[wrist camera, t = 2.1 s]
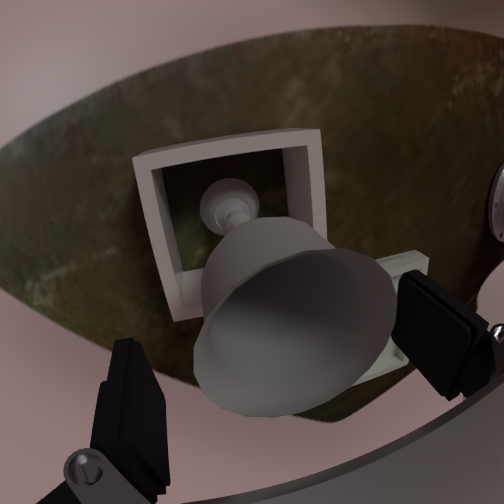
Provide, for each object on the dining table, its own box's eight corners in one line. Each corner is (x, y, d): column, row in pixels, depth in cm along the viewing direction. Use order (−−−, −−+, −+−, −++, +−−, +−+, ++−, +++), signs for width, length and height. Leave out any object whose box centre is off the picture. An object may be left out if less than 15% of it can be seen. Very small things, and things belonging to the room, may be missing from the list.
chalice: (225, 262, 28) (279, 435, 11) (170, 210, 25) (145, 363, 9) (287, 206, 27) (420, 326, 10) (235, 148, 24) (335, 194, 8)
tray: (415, 249, 32) (429, 258, 29) (398, 353, 38) (407, 364, 36) (283, 281, 30) (291, 294, 27) (291, 389, 36) (297, 403, 34)
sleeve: (291, 128, 24) (320, 129, 19) (302, 258, 29) (327, 288, 24) (145, 151, 23) (132, 157, 17) (175, 283, 27) (173, 321, 22)
